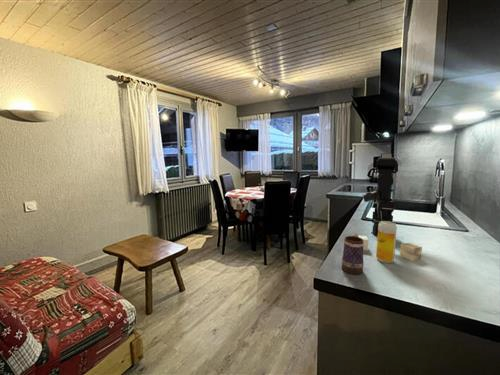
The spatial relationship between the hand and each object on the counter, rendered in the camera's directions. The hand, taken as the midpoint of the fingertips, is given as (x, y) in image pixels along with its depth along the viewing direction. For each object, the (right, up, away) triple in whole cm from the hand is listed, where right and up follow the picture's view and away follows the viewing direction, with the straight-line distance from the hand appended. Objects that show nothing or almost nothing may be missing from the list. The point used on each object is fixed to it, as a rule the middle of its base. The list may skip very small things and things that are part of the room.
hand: (381, 221), depth 103 cm
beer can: (-6, -14, -12) cm, 19 cm away
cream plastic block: (-10, -12, 0) cm, 15 cm away
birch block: (+6, -13, -10) cm, 17 cm away
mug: (-22, -15, -19) cm, 32 cm away
